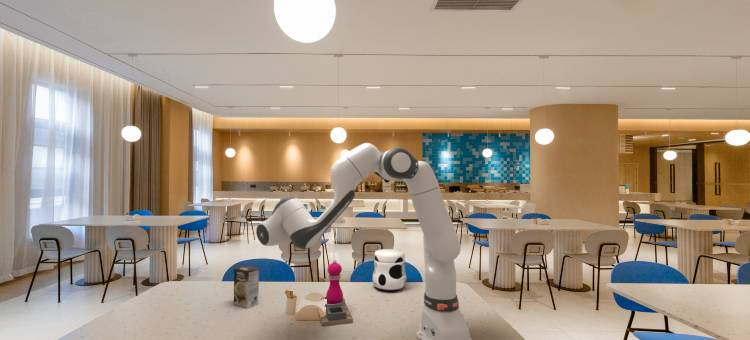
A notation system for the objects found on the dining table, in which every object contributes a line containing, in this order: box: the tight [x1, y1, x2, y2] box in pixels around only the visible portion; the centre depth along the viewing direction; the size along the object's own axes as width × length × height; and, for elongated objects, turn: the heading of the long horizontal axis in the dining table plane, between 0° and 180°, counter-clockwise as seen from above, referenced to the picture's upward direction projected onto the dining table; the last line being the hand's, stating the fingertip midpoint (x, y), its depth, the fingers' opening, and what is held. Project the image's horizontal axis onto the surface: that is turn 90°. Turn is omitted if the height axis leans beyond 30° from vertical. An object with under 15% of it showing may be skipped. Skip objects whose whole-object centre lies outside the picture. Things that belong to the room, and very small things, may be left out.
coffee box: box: [233, 265, 260, 309], centre depth 148 cm, size 9×6×16 cm
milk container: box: [372, 248, 408, 292], centre depth 170 cm, size 17×17×18 cm
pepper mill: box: [325, 259, 344, 304], centre depth 142 cm, size 7×7×20 cm
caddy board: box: [319, 296, 354, 327], centre depth 138 cm, size 20×12×4 cm, turn 16°
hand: (319, 223), depth 134 cm, fingers open, 8 cm apart
